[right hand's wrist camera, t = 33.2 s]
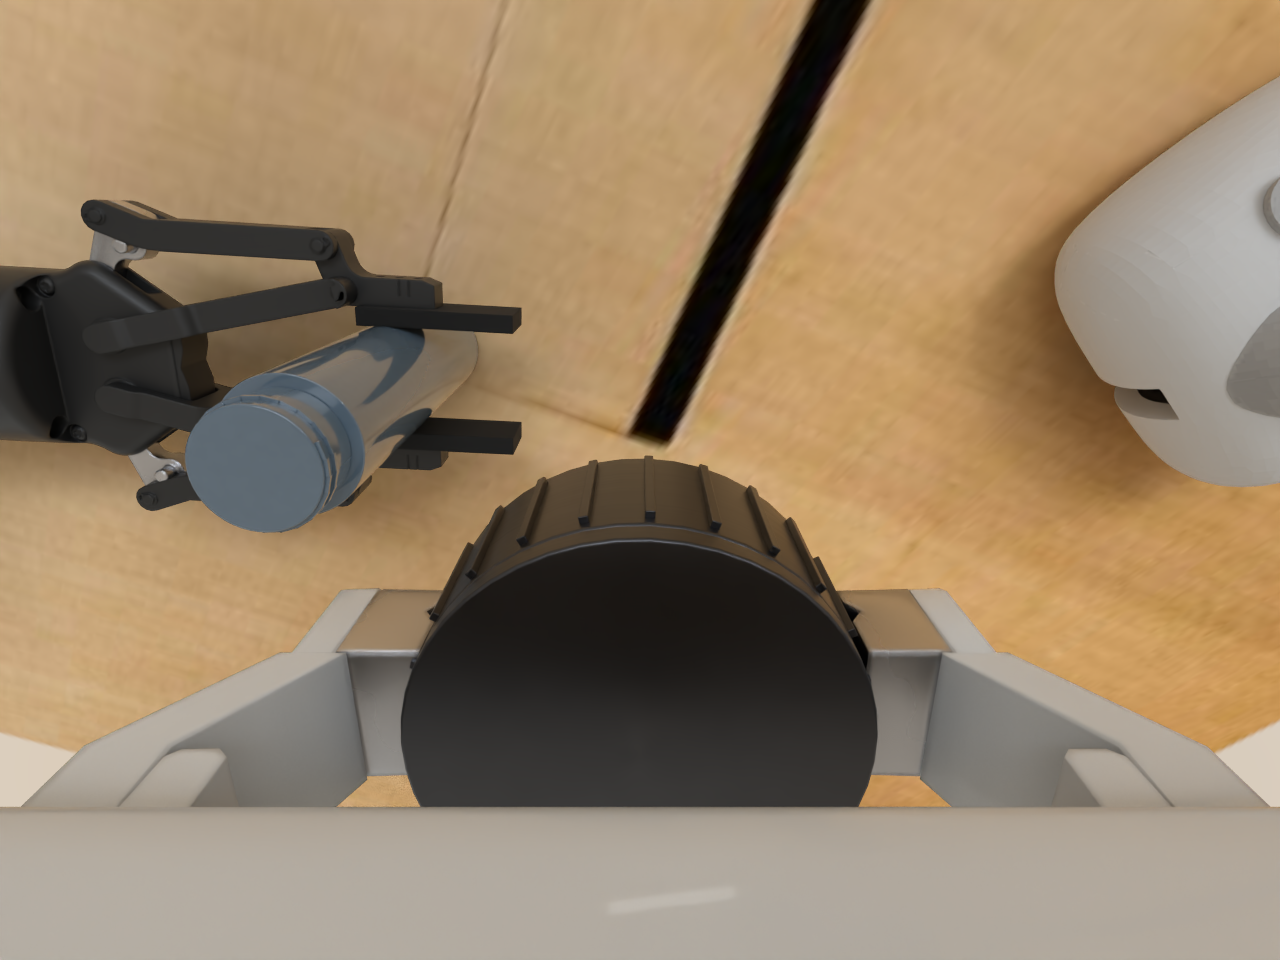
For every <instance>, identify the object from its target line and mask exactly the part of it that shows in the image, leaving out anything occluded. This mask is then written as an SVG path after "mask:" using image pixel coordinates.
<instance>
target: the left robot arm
mask: <svg viewBox="0 0 1280 960" xmlns="http://www.w3.org/2000/svg"><path fill="white" fill-rule="evenodd" d="M81 216H82V219H83V221H84V223H85V224H86V225H87V226H88V227H89V228H91V229H92V230H94V237H93V243H92V249H91V255H90V260H86V261H81V262H78V263H76V264H74V265H72V266H71V267H69V268H67V269H49V268H31V267H13V266H0V440H16V441H37V442H58V443H91V444H95V445H98V446H101V447H103V448H105V449H107V450H109V451H111V452H113V453H116V454H119V455H126V456H128V457H129V458H130V460H131V462H132V463H133V465H134V467H135V469H136V470H137V472H138V474H139V475H140V477H141V479H142V481H143V482H144V484H145V486H144V487H142V488H140V489H139V490H138V492H137V495H136V498H137V501H138V503H139V504H140V505H141V506H142V507H143V508H145V509H146V510H150V511H155V510H160V509H163V508H166V507H169V506H173V505H176V504H179V503H182V502H186V501H189V500H197V501H202V500H201V499H200V498H199V497H198V495H197V494H196V492H195V490H194V489H193V487H192V485H191V482H190V480H189V477H188V474H187V471H186V465H185V454H184V453H171V452H168V451H166V450H165V449H163V448H162V447H161V445H160V444H159V443H160V442H161V441H162V440H164V439H165V438H167V437H168V436H169V435H171V434H172V433H173V432H175V431H176V430H178V429H180V430H184V431H188V432H191V431H192V430H193V428H194V427H195V425H196V424H197V422H198V421H199V420H200V419H201V417H202V416H203V415H204V414H205V412H206V411H208V410H209V409H211V408H212V407H214V406H215V405H217V404H218V403H220V402H221V401H222V400H223V398H224V397H225V395H226V394H227V393H228V392H229V391H230V390H231V389H232V388H230V387H227V386H223V385H219V384H216V383H214V378H213V375H212V373H211V370H210V368H209V366H208V363H207V361H206V356H207V348H208V338H207V333H208V332H213V331H218V330H223V329H229V328H234V327H239V326H244V325H250V324H255V323H260V322H265V321H271V320H276V319H281V318H286V317H291V316H297V315H302V314H307V313H312V312H318V311H323V310H328V309H333V308H336V309H338V308H341V307H344V306H357V307H355V314H356V325H358V326H377V327H395V328H414V329H433V330H451V331H470V332H489V333H507V334H513V333H514V332H515V331H516V330H517V329H518V328H519V327H520V326H521V308H516V307H498V306H480V305H462V304H443V294H442V283H441V282H439V281H437V280H434V279H432V278H427V277H410V276H392V275H376V274H371V273H369V272H367V271H366V270H364V269H363V268H362V266H361V265H360V263H359V262H358V259H357V257H356V255H355V252H354V240H353V238H352V236H351V235H350V234H349V233H348V232H347V231H345V230H342V229H335V228H319V227H303V226H287V225H271V224H255V223H239V222H223V221H207V220H192V219H177V218H175V217H172V216H170V215H168V214H165V213H163V212H160V211H158V210H156V209H153V208H151V207H148V206H146V205H144V204H141V203H139V202H135V201H122V200H121V201H120V200H89V201H86V202H85V203H84V204H83V206H82V208H81ZM159 251H163V252H180V253H196V254H212V255H229V256H245V257H261V258H278V259H294V260H311V261H315V262H316V264H317V266H318V269H319V271H320V273H321V276H322V278H323V279H320V280H314V281H309V282H304V283H299V284H294V285H288V286H283V287H278V288H273V289H268V290H263V291H257V292H252V293H247V294H242V295H237V296H231V297H226V298H221V299H215V300H210V301H205V302H200V303H195V304H190V305H184V306H183V305H182V304H180V303H179V302H178V301H176V300H175V299H173V298H172V297H170V296H169V295H168V294H166V293H165V292H163V291H162V290H160V289H159V288H158V287H156V286H155V285H153V284H152V283H150V282H149V281H147V280H146V279H145V278H143V277H142V276H140V275H139V274H137V273H136V272H135V271H133V270H132V269H130V268H129V267H128V266H129V263H130V262H131V261H132V260H143V259H151V258H154V257H155V256H156V255H157V254H158V252H159ZM520 439H521V422H510V421H490V420H470V419H450V418H430V417H429V418H428V419H427V420H426V421H425V422H424V423H423V424H422V425H421V426H420V427H419V428H418V429H417V430H416V431H415V432H414V433H413V434H412V435H411V436H410V437H409V438H408V439H407V440H406V441H405V442H404V443H403V444H402V445H401V446H400V447H399V448H398V449H397V450H396V451H395V452H394V453H393V454H392V455H391V456H390V457H389V458H388V459H387V460H386V461H385V462H384V463H383V464H382V465H380V466H379V467H378V468H394V469H415V470H417V469H419V470H433V469H436V468H439V467H441V466H442V465H443V464H444V462H445V461H446V459H447V458H448V452H469V453H489V454H510V455H513V454H514V452H515V450H516V448H517V446H518V443H519V441H520ZM371 480H372V475H370V476H369V477H368V478H367V479H366V480H365V481H364V482H363V483H362V484H361V485H360V486H359V487H358V488H357V489H356V490H355V491H354V492H353V493H352V494H351V495H350V496H349V497H348V498H347V499H346V500H345V501H344V502H343V503H341V504H340V505H338V506H342V507H343V506H348V505H350V504H351V503H352V502H353V501H354V500H355V499H356V498H357V497H358V496H359V495H360V494H361V493H362V492H363V491H364V490H365V489H366V487H367V486H368V485H369V484H370V483H371Z"/></svg>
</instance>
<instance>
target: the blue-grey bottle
mask: <svg viewBox="0 0 1280 960" xmlns="http://www.w3.org/2000/svg"><path fill="white" fill-rule="evenodd" d="M477 359H478V345H477V340H476V337H475V334H474V332H470V331H451V330H433V329H414V328H395V327H377V326H369V327H367V328H365V329H362V330H360V331H358V332H355V333H353V334H350V335H348V336H346V337H343V338H341V339H339V340H336V341H334V342H332V343H329V344H327V345H325V346H322V347H320V348H318V349H315V350H313V351H311V352H308V353H306V354H304V355H301V356H299V357H297V358H294V359H292V360H290V361H287V362H285V363H283V364H280V365H278V366H276V367H273V368H271V369H269V370H266V371H264V372H262V373H259V374H257V375H255V376H252V377H250V378H248V379H246V380H244V381H242V382H240V383H238V384H237V385H236V386H235V387H233V388H232V389H231V390H230V391H229V392H228V393H227V394H226V395H225V397H224V398H223V400H222V401H221V402H220V403H218V404H217V405H215V406H214V407H212V408H211V409H209V410H208V411H206V412H205V414H204V415H203V416H202V417H201V419H200V420H199V421H198V422H197V424H196V425H195V427H194V428H193V430H192V431H191V433H190V435H189V438H188V441H187V444H186V450H185V465H186V471H187V474H188V477H189V480H190V482H191V485H192V487H193V489H194V490H195V492H196V494H197V495H198V497H199V498H200V499H201V500H202V502H203V503H204V504H205V505H206V506H207V507H208V508H209V509H210V510H211V511H212V512H213V513H215V514H216V515H217V516H219V517H220V518H222V519H223V520H225V521H227V522H229V523H230V524H232V525H235V526H237V527H240V528H243V529H246V530H250V531H256V532H263V533H266V532H280V533H281V532H285V531H288V530H292V529H295V528H299V527H300V526H302V525H304V524H305V523H307V522H309V521H310V520H312V519H313V518H314V517H315V516H316V515H317V514H319V513H323V512H326V511H329V510H331V509H333V508H335V507H337V506H338V505H340V504H341V503H343V502H344V501H345V500H346V499H347V498H348V497H349V496H350V495H351V494H352V493H353V492H354V491H355V490H356V489H357V488H358V487H359V486H360V485H361V484H362V483H363V482H364V481H365V480H366V479H367V478H368V477H369V476H370V475H371V474H372V473H373V472H374V471H375V470H376V469H377V468H378V467H379V466H380V465H382V464H383V463H384V462H385V461H386V460H387V459H388V458H389V457H390V456H391V455H392V454H393V453H394V452H395V451H396V450H397V449H398V448H399V447H400V446H401V445H402V444H403V443H404V442H405V441H406V440H407V439H408V438H409V437H410V436H411V435H412V434H413V433H414V432H415V431H416V430H417V429H418V428H419V427H420V426H421V425H422V424H423V423H424V422H425V421H426V420H427V419H428V418H429V417H430V416H431V415H432V414H433V413H434V412H435V411H436V410H437V409H438V408H439V407H440V406H441V405H442V404H443V403H444V402H445V401H446V400H447V399H448V398H449V397H450V396H451V395H452V394H453V393H454V392H455V391H456V390H457V389H458V388H459V387H460V386H461V385H462V384H463V383H464V382H465V381H466V380H467V379H468V378H469V376H470V375H471V374H472V372H473V370H474V368H475V366H476V363H477Z"/></svg>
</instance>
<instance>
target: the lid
mask: <svg viewBox="0 0 1280 960" xmlns="http://www.w3.org/2000/svg"><path fill="white" fill-rule="evenodd" d="M429 619H430V620H432V621H434V622H435V623H434V625H433V627H432V629H431V631H430V633H429V635H428V637H427V639H426V641H425V643H424V645H423V647H422V650H421V651H420V653H419V655H418V658H417V660H413V659H412V660H411V663H410V669H412V671H411V674H410V677H409V680H408V683H407V686H406V689H405V692H404V699H403V705H402V712H401V747H402V753H403V758H404V764H405V770H406V773H407V776H408V778H409V781H410V784H411V787H412V790H413V793H414V795H415V797H416V799H417V801H418V803H419V805H420V807H858V806H859V804H860V802H861V800H862V797H863V795H864V793H865V791H866V789H867V787H868V783H869V780H870V776H871V773H872V769H873V766H874V762H875V755H876V747H877V739H878V726H877V708H876V704H875V699H874V694H873V690H872V684H871V678H870V676H868V674H867V672H866V669H865V667H864V664H863V662H862V659H861V657H860V655H859V653H858V651H857V649H856V647H855V645H854V643H853V640H852V638H853V637H856V636H858V634H857V632H856V630H855V628H854V626H853V624H852V622H851V620H850V618H849V616H848V614H847V612H846V610H845V608H844V606H843V604H842V602H841V600H840V598H839V596H838V594H837V592H836V590H835V588H834V586H833V584H832V582H831V580H830V578H829V576H828V574H827V572H826V570H825V568H824V566H823V564H822V562H821V560H820V558H819V557H816V558H812V556H811V554H810V552H809V550H808V548H807V546H806V544H805V542H804V539H803V537H802V535H801V533H800V531H799V529H798V527H797V525H796V523H795V521H794V520H793V519H792V518H791V517H790V518H788V519H787V520H786V519H785V518H784V517H783V516H782V515H781V514H780V513H779V512H778V511H777V510H776V509H775V508H773V507H772V506H771V505H770V504H769V503H768V502H767V501H765V500H764V499H762V498H761V497H759V495H758V492H757V490H756V488H754V487H752V486H751V485H750V486H749V487H748V488H746V487H744V486H742V485H741V484H739V483H737V482H735V481H733V480H731V479H729V478H727V477H725V476H722V475H720V474H717V473H714V472H712V471H709V470H708V466H705V465H702V464H700V465H699V467H696V466H692V465H688V464H683V463H679V462H674V461H665V460H655V459H653V456H645V457H644V459H620V460H613V461H607V462H600V463H598V462H597V460H593V461H589V464H588V465H587V466H583V467H579V468H576V469H572V470H569V471H566V472H564V473H562V474H559V475H557V476H554V477H552V478H550V479H546V478H545V477H543V478H541V479H539V480H538V481H537V484H536V486H535V487H533V488H531V489H530V490H528V491H526V492H524V493H523V494H522V495H520V496H519V497H518V498H516V499H515V500H514V501H513V502H511V503H510V504H509V505H507V506H506V507H505V508H503V507H502V506H501V505H500V506H499V507H498V508H497V509H496V510H495V512H494V514H493V516H492V518H491V520H490V522H489V524H488V525H487V526H486V528H485V529H484V531H483V532H482V533H481V535H480V536H479V538H478V539H477V540H476V542H475V543H474V544H473V545H472V544H471V543H469V542H468V543H467V545H466V547H465V548H464V550H463V552H462V554H461V556H460V558H459V560H458V562H457V564H456V566H455V568H454V570H453V572H452V574H451V576H450V578H449V580H448V582H447V584H446V586H445V588H444V590H443V592H442V594H441V596H440V597H439V599H438V601H437V603H436V605H435V607H434V609H433V611H432V613H431V615H430V617H429Z"/></svg>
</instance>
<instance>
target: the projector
mask: <svg viewBox="0 0 1280 960" xmlns="http://www.w3.org/2000/svg"><path fill="white" fill-rule="evenodd" d="M1055 292H1056V297H1057V301H1058V304H1059V307H1060V310H1061V312H1062V314H1063V317H1064V319H1065V321H1066V323H1067V325H1068V327H1069V329H1070V331H1071V333H1072V334H1073V336H1074V338H1075V340H1076V342H1077V343H1078V345H1079V347H1080V348H1081V350H1082V352H1083V353H1084V355H1085V357H1086V358H1087V360H1088V361H1089V363H1090V364H1091V366H1092V368H1093V369H1094V371H1095V372H1096V374H1097V375H1098V376H1099V377H1100V378H1101V379H1102V380H1103V381H1105V382H1107V383H1109V384H1111V385H1114V386H1115V392H1114V398H1115V402H1116V404H1117V406H1118V407H1119V408H1120V410H1121V411H1122V413H1123V414H1124V416H1125V417H1126V419H1127V420H1128V421H1129V423H1130V424H1131V426H1132V427H1133V428H1134V430H1135V431H1136V432H1137V434H1138V435H1139V436H1140V437H1141V439H1142V440H1143V441H1144V442H1145V444H1146V445H1147V446H1148V447H1149V448H1150V449H1151V450H1152V451H1153V452H1154V453H1155V454H1156V455H1157V456H1158V457H1159V458H1160V459H1161V460H1163V461H1164V462H1165V463H1166V464H1168V465H1169V466H1171V467H1172V468H1174V469H1175V470H1177V471H1179V472H1181V473H1183V474H1185V475H1187V476H1189V477H1191V478H1194V479H1196V480H1199V481H1203V482H1206V483H1210V484H1215V485H1221V486H1232V487H1251V486H1265V485H1270V484H1276V483H1280V76H1279V77H1277V78H1275V79H1274V80H1272V81H1270V82H1269V83H1267V84H1265V85H1264V86H1262V87H1260V88H1259V89H1257V90H1255V91H1254V92H1252V93H1250V94H1249V95H1247V96H1245V97H1244V98H1242V99H1241V100H1239V101H1238V102H1236V103H1235V104H1233V105H1232V106H1230V107H1228V108H1227V109H1225V110H1224V111H1222V112H1221V113H1219V114H1218V115H1216V116H1215V117H1213V118H1212V119H1210V120H1209V121H1207V122H1206V123H1205V124H1203V125H1202V126H1200V127H1199V128H1197V129H1196V130H1194V131H1193V132H1191V133H1190V134H1189V135H1187V136H1186V137H1184V138H1183V139H1182V140H1180V141H1179V142H1178V143H1176V144H1175V145H1173V146H1172V147H1171V148H1169V149H1168V150H1166V151H1165V152H1164V153H1162V154H1161V155H1160V156H1158V157H1157V158H1156V159H1154V160H1153V161H1152V162H1151V163H1149V164H1148V165H1147V166H1145V167H1144V168H1143V169H1141V170H1140V171H1139V172H1138V173H1136V174H1135V175H1134V176H1132V177H1131V178H1130V179H1129V180H1128V181H1126V182H1125V183H1124V184H1123V185H1121V186H1120V187H1119V188H1118V189H1117V190H1115V191H1114V192H1113V193H1112V194H1111V195H1109V196H1108V197H1107V198H1106V199H1105V200H1104V201H1103V202H1102V203H1101V204H1099V205H1098V206H1097V207H1096V208H1095V209H1094V210H1093V211H1092V212H1091V213H1090V214H1089V215H1088V216H1087V217H1086V218H1085V219H1084V220H1083V221H1082V222H1081V223H1080V224H1079V225H1078V226H1077V227H1076V228H1075V230H1074V231H1073V232H1072V233H1071V235H1070V236H1069V237H1068V239H1067V240H1066V241H1065V243H1064V245H1063V246H1062V248H1061V250H1060V253H1059V255H1058V258H1057V261H1056V266H1055Z"/></svg>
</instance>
